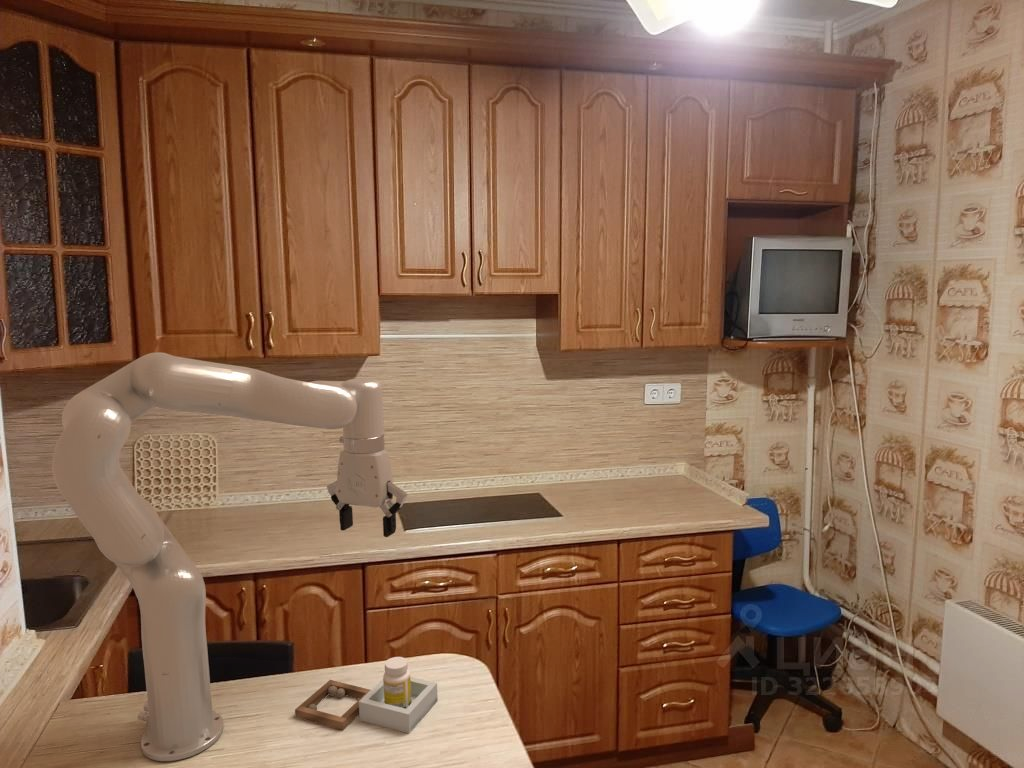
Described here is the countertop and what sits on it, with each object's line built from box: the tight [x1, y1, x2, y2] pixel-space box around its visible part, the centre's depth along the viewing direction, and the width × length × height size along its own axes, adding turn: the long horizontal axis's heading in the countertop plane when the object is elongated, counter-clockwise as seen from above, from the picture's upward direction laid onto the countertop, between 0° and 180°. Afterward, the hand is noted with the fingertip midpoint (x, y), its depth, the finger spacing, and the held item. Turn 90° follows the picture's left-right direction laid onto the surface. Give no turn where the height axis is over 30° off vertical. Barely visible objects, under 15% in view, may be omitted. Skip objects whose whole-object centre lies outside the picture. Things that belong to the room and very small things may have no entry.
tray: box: [294, 679, 371, 731], centre depth 127 cm, size 10×10×2 cm
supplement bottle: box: [382, 656, 412, 709], centre depth 126 cm, size 5×5×8 cm
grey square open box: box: [358, 676, 439, 734], centre depth 126 cm, size 10×10×4 cm
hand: (367, 531), depth 136 cm, fingers open, 9 cm apart
